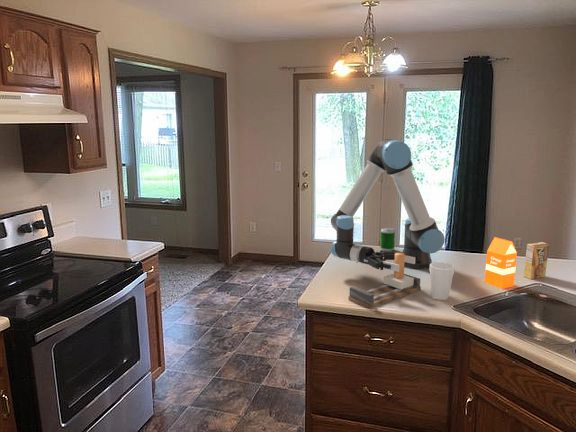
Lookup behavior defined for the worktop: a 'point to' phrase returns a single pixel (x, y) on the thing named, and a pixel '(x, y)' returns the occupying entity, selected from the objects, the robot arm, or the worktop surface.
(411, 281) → the carriage
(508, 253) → the orange juice
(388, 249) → the soda can
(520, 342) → the worktop surface
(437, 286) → the foam cup
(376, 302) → the rail
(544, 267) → the candy box
